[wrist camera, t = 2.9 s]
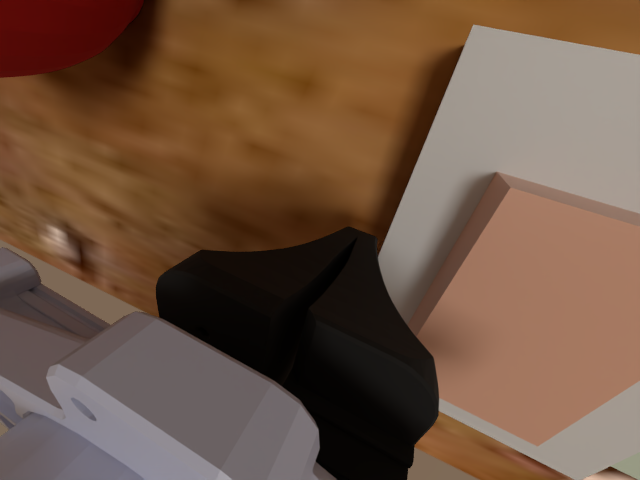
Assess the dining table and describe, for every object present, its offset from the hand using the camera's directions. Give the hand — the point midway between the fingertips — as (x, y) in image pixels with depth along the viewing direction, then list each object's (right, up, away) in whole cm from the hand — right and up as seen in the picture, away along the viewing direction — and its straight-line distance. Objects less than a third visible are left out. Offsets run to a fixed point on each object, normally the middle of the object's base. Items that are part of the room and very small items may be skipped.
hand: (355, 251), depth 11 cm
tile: (+6, -2, -1) cm, 7 cm away
